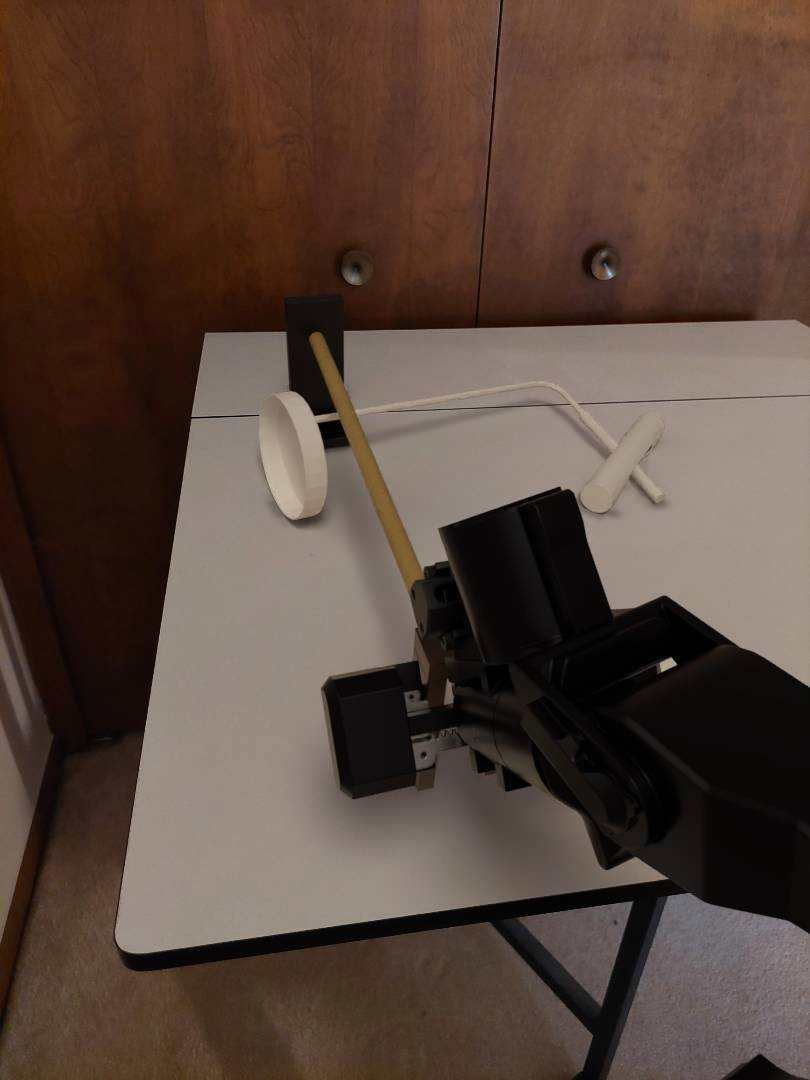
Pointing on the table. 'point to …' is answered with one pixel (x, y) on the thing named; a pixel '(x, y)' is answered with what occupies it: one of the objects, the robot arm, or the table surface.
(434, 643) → the brown wooden arch
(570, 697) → the robot arm
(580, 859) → the table surface
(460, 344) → the table surface
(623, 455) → the desk lamp
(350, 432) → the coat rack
